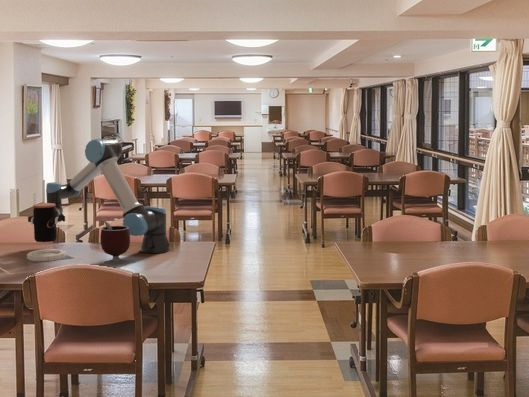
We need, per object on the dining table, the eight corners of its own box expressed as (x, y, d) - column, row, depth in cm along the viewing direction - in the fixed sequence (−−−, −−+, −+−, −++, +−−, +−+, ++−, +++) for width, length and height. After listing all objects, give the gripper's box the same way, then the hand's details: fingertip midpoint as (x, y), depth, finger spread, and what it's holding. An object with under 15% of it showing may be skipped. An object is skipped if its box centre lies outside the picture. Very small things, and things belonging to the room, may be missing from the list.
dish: (71, 257, 362) (71, 253, 362) (35, 262, 351) (34, 258, 351) (57, 252, 376) (57, 247, 376) (22, 256, 366) (22, 252, 365)
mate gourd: (136, 262, 353) (135, 221, 350) (113, 267, 342) (112, 225, 340) (116, 258, 363) (115, 218, 360) (93, 263, 352) (91, 222, 350)
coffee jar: (50, 242, 357) (49, 206, 354) (30, 242, 359) (28, 205, 357) (60, 239, 367) (59, 203, 365) (41, 238, 369) (39, 202, 367)
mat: (74, 259, 361) (74, 258, 361) (34, 264, 349) (34, 263, 349) (57, 252, 379) (57, 251, 379) (19, 257, 367) (19, 256, 367)
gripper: (74, 221, 382) (68, 228, 361) (28, 222, 380) (19, 229, 358) (73, 207, 381) (67, 213, 360) (28, 208, 379) (19, 214, 357)
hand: (43, 221), depth 359 cm, fingers closed on coffee jar, 11 cm apart
